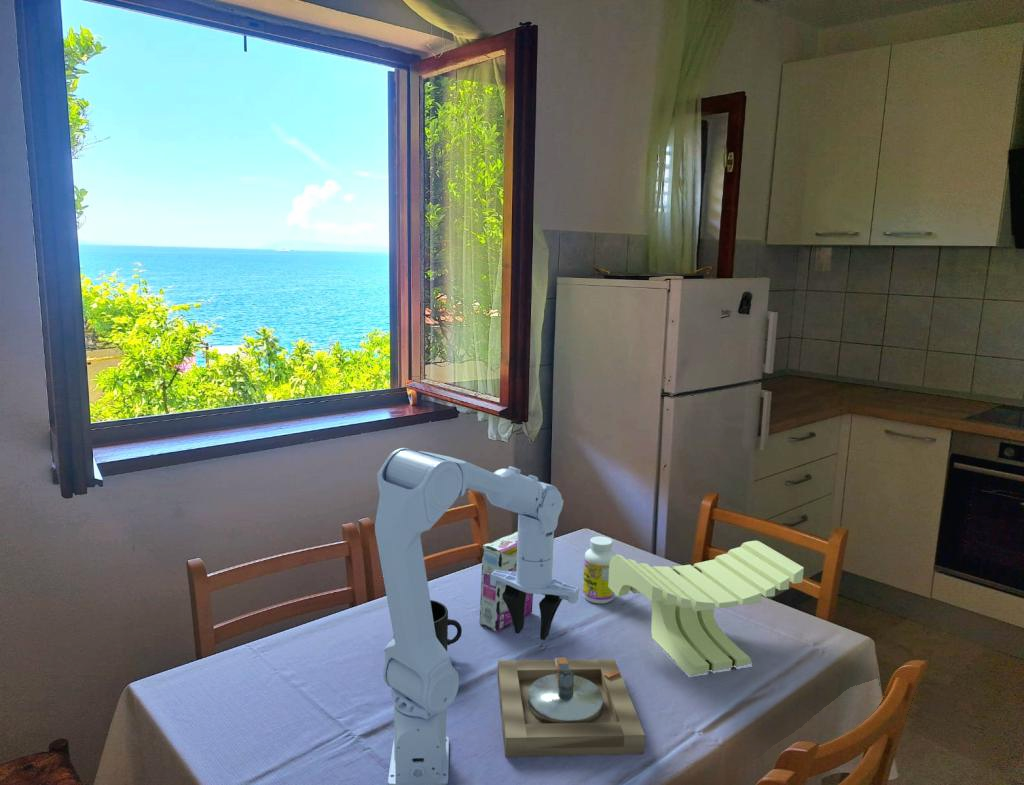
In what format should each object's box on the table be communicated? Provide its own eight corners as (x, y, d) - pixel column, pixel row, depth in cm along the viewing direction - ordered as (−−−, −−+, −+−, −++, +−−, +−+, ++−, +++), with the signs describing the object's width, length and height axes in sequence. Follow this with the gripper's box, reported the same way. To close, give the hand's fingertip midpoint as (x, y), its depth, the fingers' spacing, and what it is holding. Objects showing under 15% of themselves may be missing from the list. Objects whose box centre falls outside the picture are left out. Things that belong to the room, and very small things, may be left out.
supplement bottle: (576, 593, 152) (579, 536, 150) (603, 588, 155) (606, 532, 153) (593, 607, 146) (596, 548, 144) (620, 601, 149) (623, 543, 147)
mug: (465, 670, 122) (466, 621, 120) (395, 676, 119) (395, 627, 118) (457, 641, 131) (458, 596, 129) (391, 647, 128) (391, 601, 127)
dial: (609, 726, 106) (611, 696, 105) (531, 728, 105) (533, 697, 104) (594, 682, 117) (596, 654, 116) (524, 683, 116) (525, 654, 115)
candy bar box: (498, 634, 134) (500, 552, 131) (478, 625, 137) (480, 544, 135) (534, 613, 143) (537, 535, 140) (515, 605, 146) (517, 529, 143)
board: (643, 753, 102) (645, 731, 102) (505, 757, 101) (505, 734, 100) (613, 675, 122) (614, 656, 121) (497, 676, 120) (498, 657, 120)
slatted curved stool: (740, 618, 143) (748, 534, 140) (793, 660, 128) (803, 567, 125) (605, 637, 134) (610, 548, 131) (645, 685, 119) (652, 585, 116)
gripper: (586, 554, 114) (582, 632, 116) (503, 538, 119) (501, 613, 122) (571, 570, 107) (567, 653, 110) (485, 552, 113) (483, 631, 115)
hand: (531, 633), depth 115 cm, fingers open, 4 cm apart
